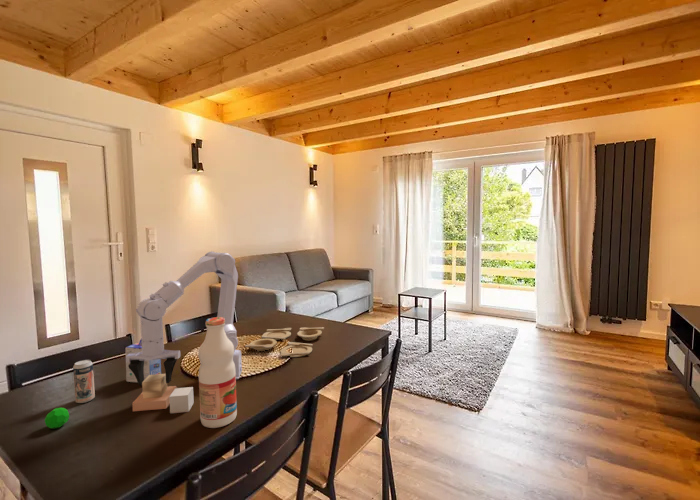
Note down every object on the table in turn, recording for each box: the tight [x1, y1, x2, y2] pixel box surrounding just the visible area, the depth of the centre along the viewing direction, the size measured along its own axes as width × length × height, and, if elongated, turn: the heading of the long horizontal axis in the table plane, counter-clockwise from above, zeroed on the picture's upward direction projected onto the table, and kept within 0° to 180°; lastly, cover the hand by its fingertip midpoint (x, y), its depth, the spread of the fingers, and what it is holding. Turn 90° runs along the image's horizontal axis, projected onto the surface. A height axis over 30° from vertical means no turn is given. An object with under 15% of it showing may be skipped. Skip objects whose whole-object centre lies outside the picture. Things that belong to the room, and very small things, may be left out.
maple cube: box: [141, 373, 168, 399], centre depth 103 cm, size 5×5×5 cm
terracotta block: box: [131, 385, 178, 412], centre depth 103 cm, size 9×9×3 cm
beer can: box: [72, 359, 96, 404], centre depth 104 cm, size 5×5×12 cm
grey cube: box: [169, 386, 195, 414], centre depth 99 cm, size 5×5×5 cm
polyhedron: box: [44, 407, 70, 430], centre depth 91 cm, size 5×5×5 cm
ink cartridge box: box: [125, 339, 162, 383], centre depth 118 cm, size 10×6×14 cm, turn 78°
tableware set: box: [244, 326, 325, 358], centre depth 153 cm, size 35×29×4 cm
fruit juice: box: [197, 316, 238, 429], centre depth 93 cm, size 9×9×28 cm
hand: (155, 382), depth 103 cm, fingers open, 7 cm apart
